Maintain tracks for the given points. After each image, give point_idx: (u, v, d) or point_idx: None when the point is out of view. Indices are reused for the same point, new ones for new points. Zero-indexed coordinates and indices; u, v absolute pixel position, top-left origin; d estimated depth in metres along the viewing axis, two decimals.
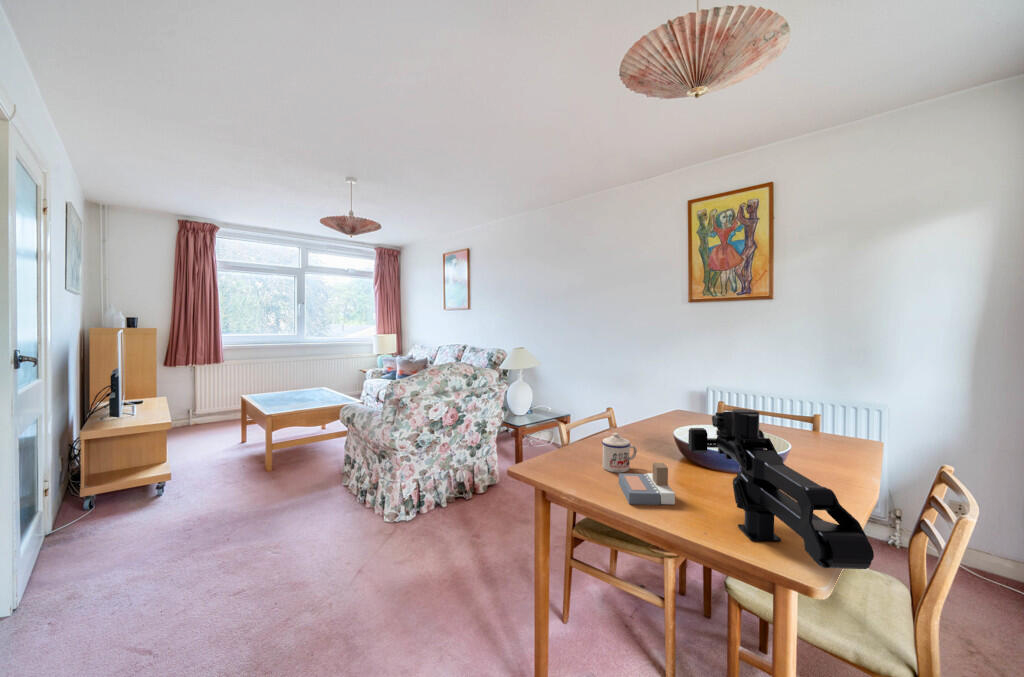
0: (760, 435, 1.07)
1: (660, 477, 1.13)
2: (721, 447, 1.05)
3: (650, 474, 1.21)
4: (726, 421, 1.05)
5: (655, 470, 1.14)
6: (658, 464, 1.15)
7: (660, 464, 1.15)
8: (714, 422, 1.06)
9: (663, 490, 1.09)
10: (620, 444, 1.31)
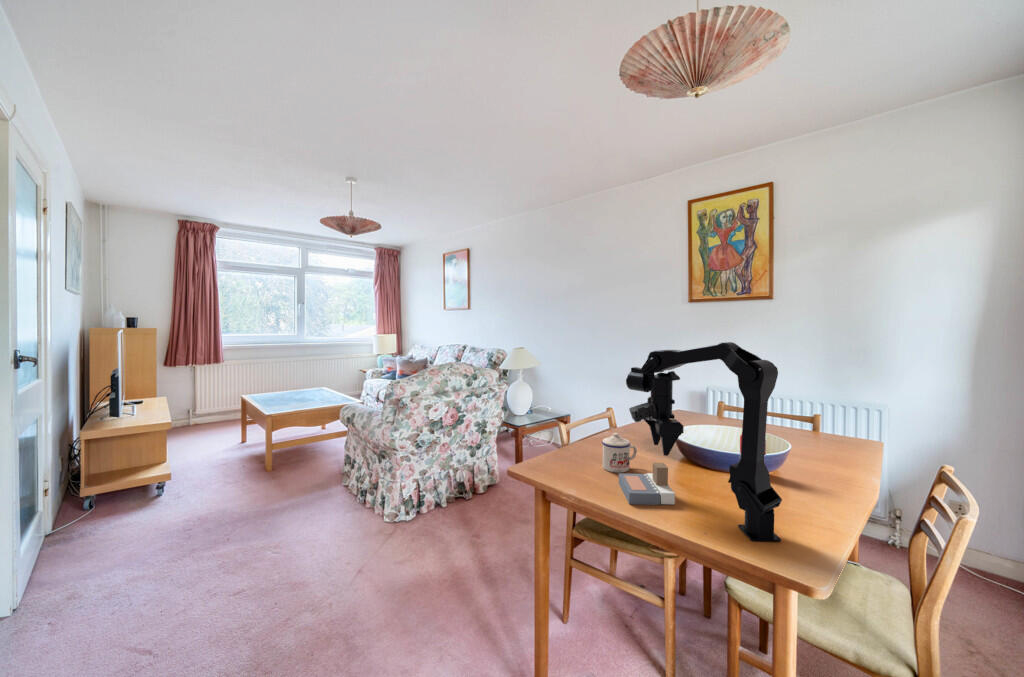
0: None
1: (660, 477, 1.13)
2: (667, 408, 1.11)
3: (650, 474, 1.21)
4: None
5: (655, 470, 1.14)
6: (658, 464, 1.15)
7: (660, 464, 1.15)
8: (644, 413, 1.10)
9: (663, 490, 1.09)
10: (620, 444, 1.31)
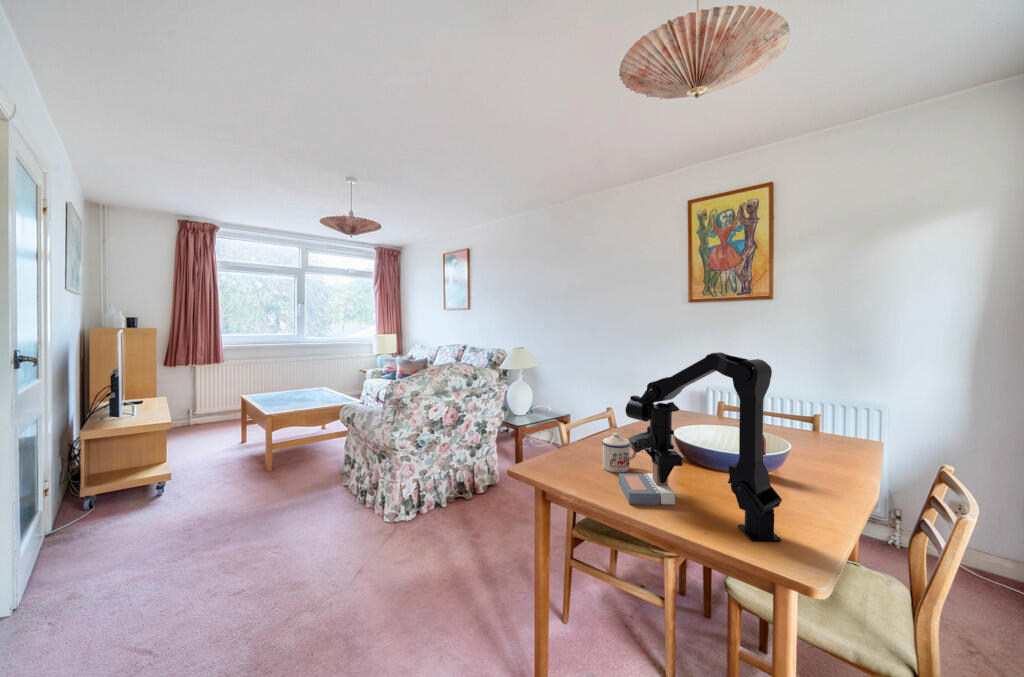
0: None
1: None
2: (666, 439, 1.11)
3: (650, 474, 1.21)
4: None
5: (655, 470, 1.14)
6: None
7: None
8: (643, 444, 1.10)
9: (663, 490, 1.09)
10: (620, 444, 1.31)
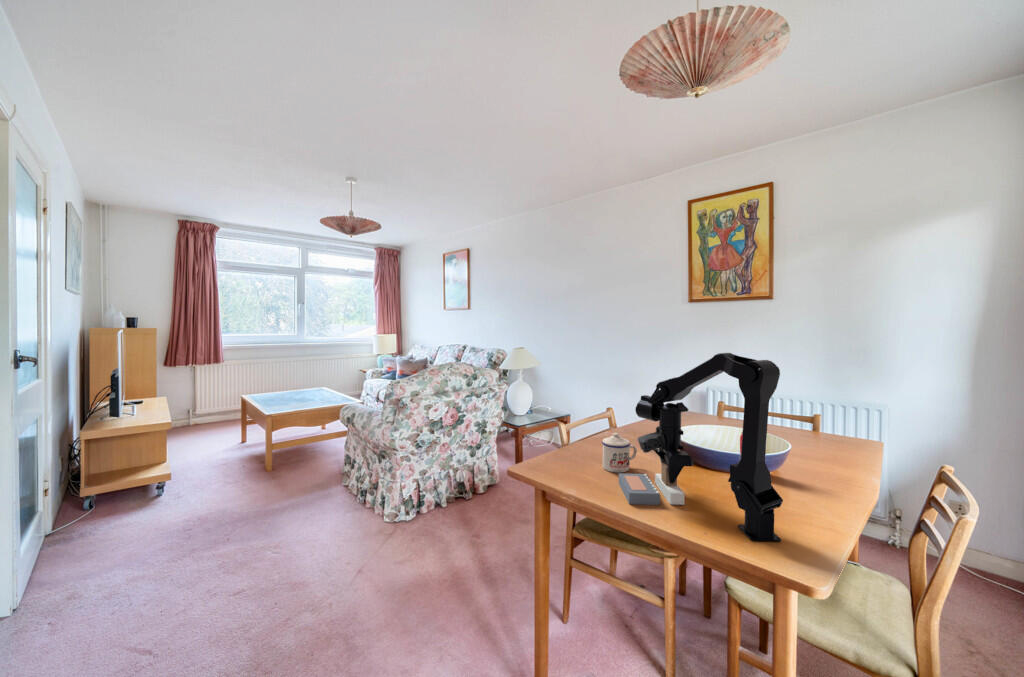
0: None
1: None
2: (675, 439, 1.11)
3: (659, 474, 1.21)
4: (649, 438, 1.13)
5: (664, 470, 1.14)
6: None
7: None
8: (653, 444, 1.10)
9: (672, 491, 1.09)
10: (620, 444, 1.31)
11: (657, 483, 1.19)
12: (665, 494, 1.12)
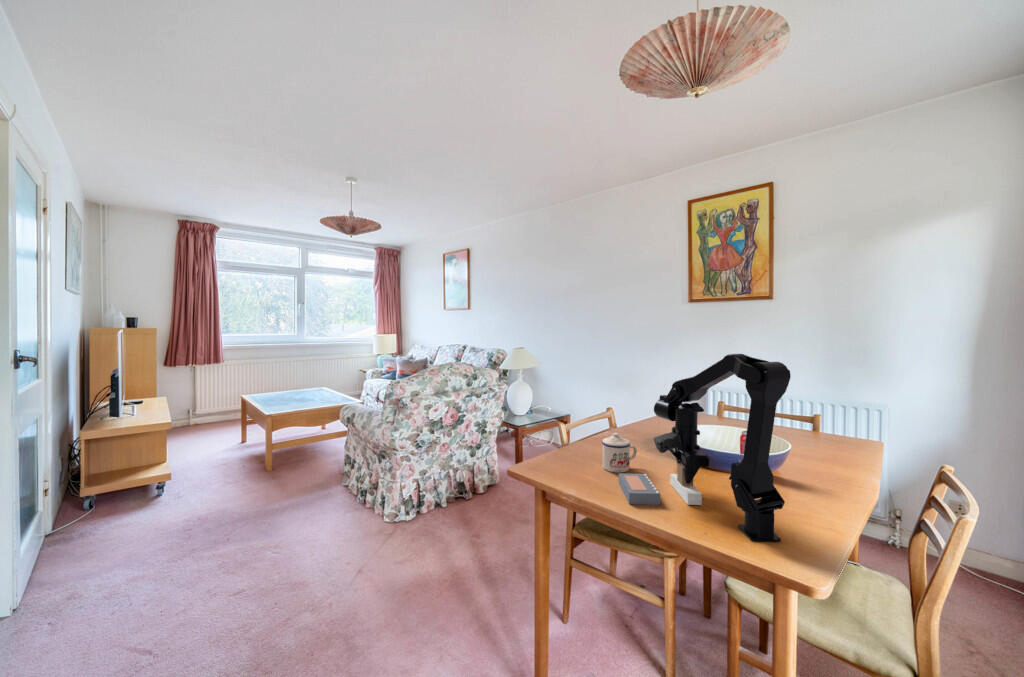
0: None
1: None
2: (692, 439, 1.11)
3: (674, 474, 1.20)
4: (665, 439, 1.13)
5: (680, 470, 1.14)
6: None
7: None
8: (670, 444, 1.10)
9: (689, 491, 1.09)
10: (620, 444, 1.31)
11: (672, 483, 1.19)
12: (681, 494, 1.12)
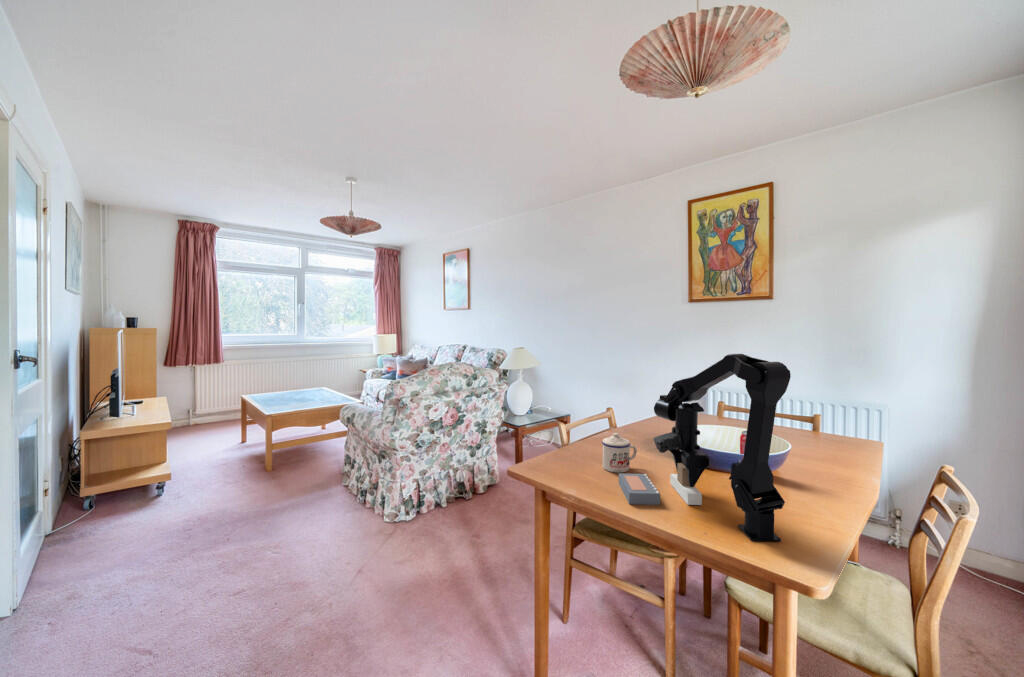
0: None
1: (685, 478, 1.12)
2: (692, 439, 1.11)
3: (674, 474, 1.20)
4: (665, 439, 1.13)
5: (680, 470, 1.14)
6: None
7: None
8: (670, 444, 1.10)
9: (689, 491, 1.09)
10: (620, 444, 1.31)
11: (673, 483, 1.19)
12: (682, 494, 1.12)
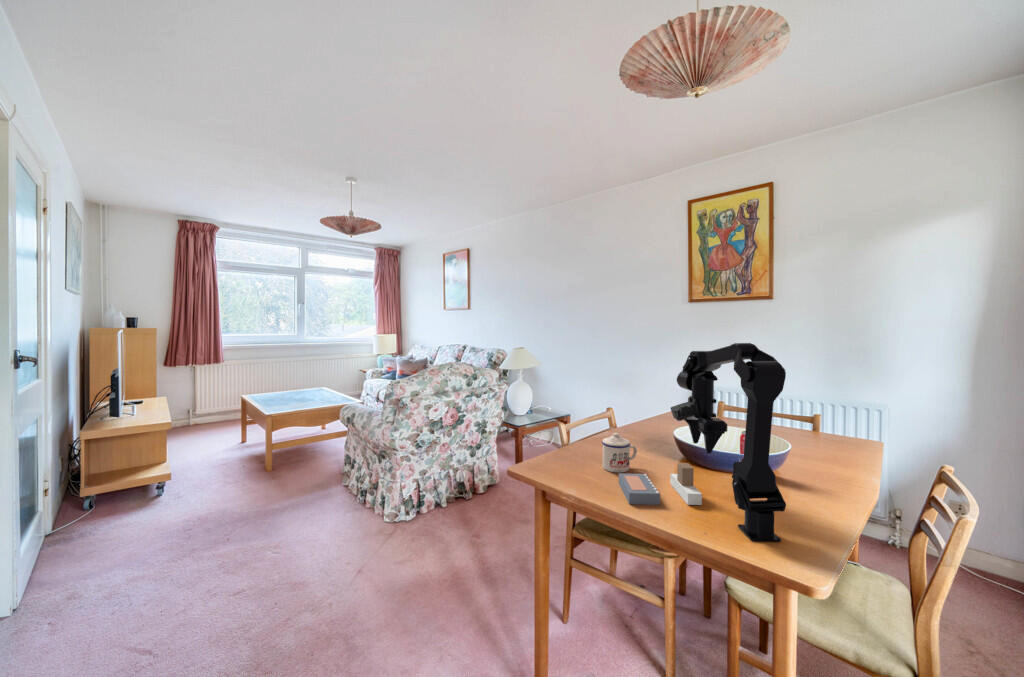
0: None
1: (685, 478, 1.12)
2: (709, 407, 1.14)
3: (674, 474, 1.20)
4: None
5: (680, 470, 1.14)
6: (683, 464, 1.15)
7: (685, 465, 1.14)
8: (687, 412, 1.13)
9: (689, 491, 1.09)
10: (620, 444, 1.31)
11: (673, 483, 1.19)
12: (682, 494, 1.12)
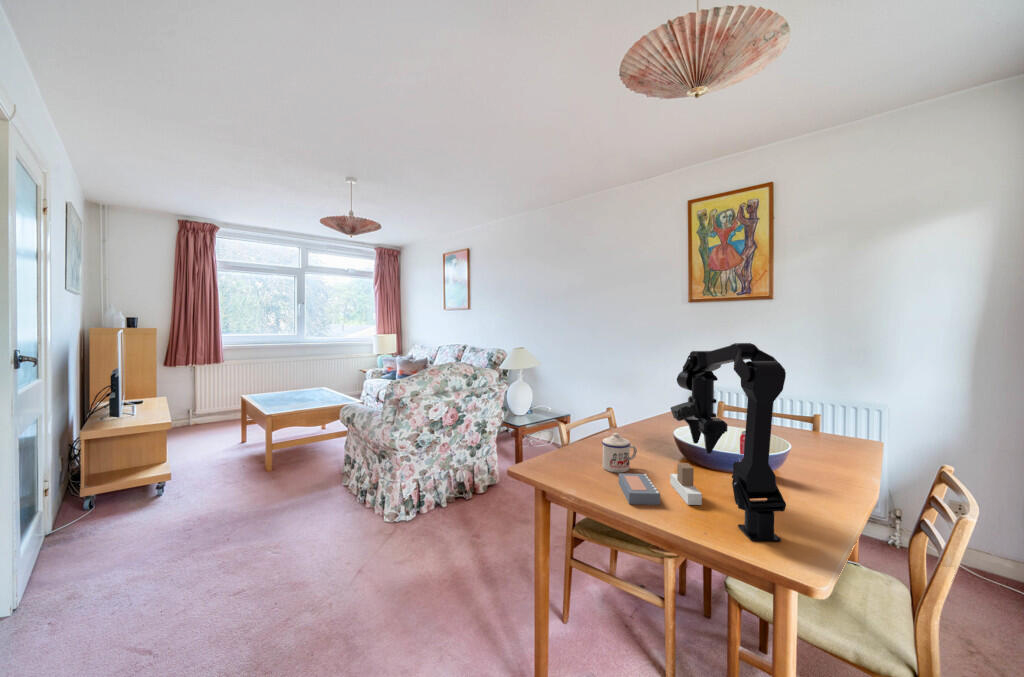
0: None
1: (685, 478, 1.12)
2: (709, 407, 1.14)
3: (674, 474, 1.20)
4: None
5: (680, 470, 1.14)
6: (683, 464, 1.15)
7: (685, 465, 1.14)
8: (687, 412, 1.13)
9: (689, 491, 1.09)
10: (620, 444, 1.31)
11: (673, 483, 1.19)
12: (682, 494, 1.12)
